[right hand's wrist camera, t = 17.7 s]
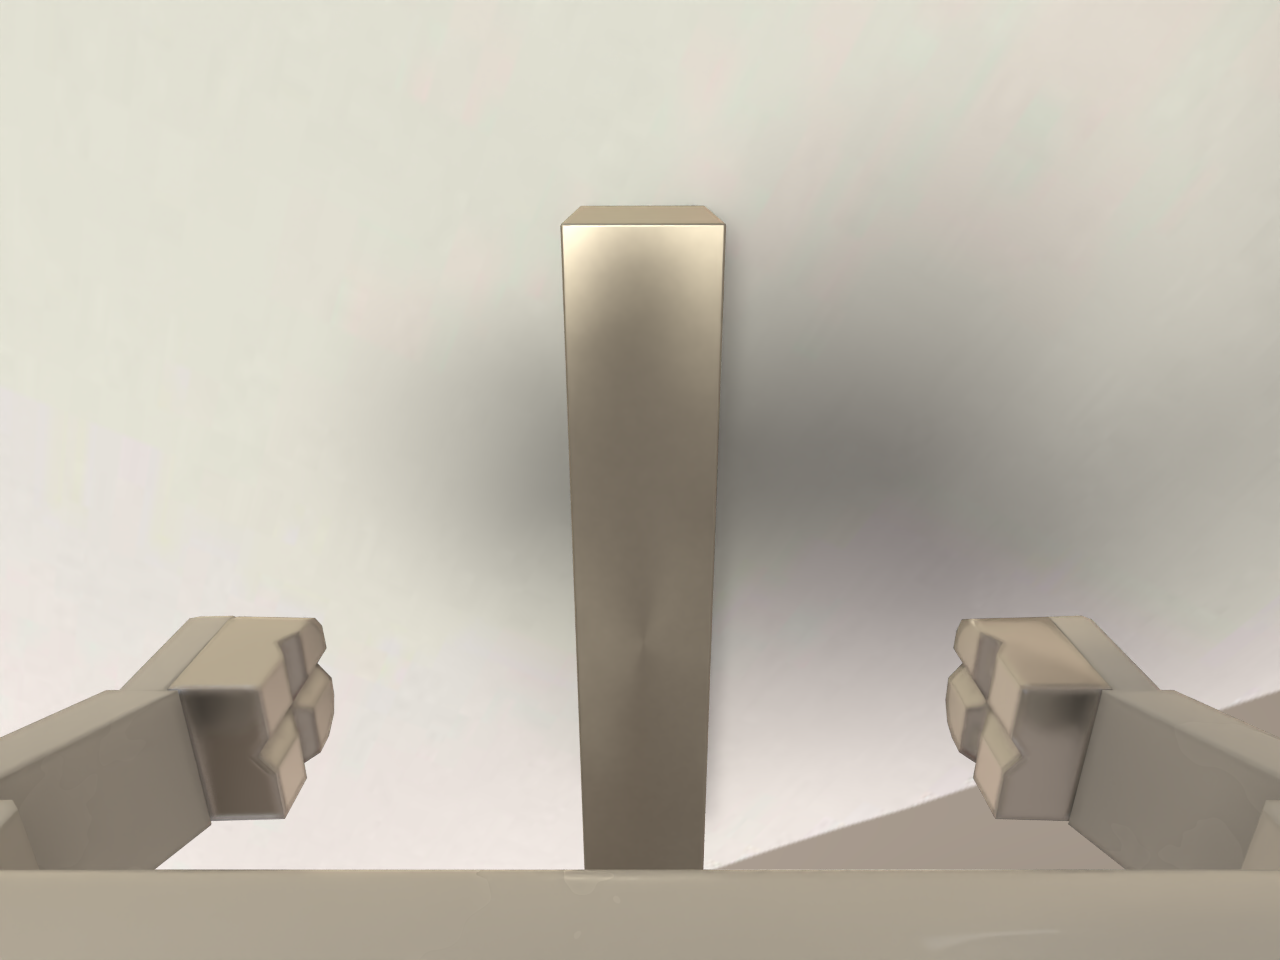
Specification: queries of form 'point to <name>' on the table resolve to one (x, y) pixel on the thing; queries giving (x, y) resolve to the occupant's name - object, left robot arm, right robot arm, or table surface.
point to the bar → (643, 520)
